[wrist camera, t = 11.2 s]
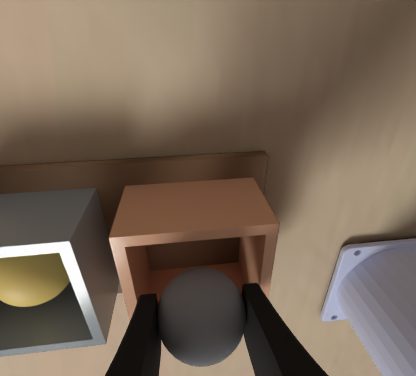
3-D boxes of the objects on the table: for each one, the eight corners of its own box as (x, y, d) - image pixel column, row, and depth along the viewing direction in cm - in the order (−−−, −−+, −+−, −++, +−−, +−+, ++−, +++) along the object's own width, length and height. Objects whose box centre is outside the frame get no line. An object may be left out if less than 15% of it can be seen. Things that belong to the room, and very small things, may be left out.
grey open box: (96, 187, 13) (69, 241, 10) (119, 279, 16) (106, 344, 13) (-48, 197, 13) (-131, 258, 9) (7, 290, 16) (-39, 361, 12)
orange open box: (253, 177, 14) (279, 223, 10) (245, 267, 17) (263, 324, 14) (125, 185, 13) (108, 238, 10) (142, 277, 17) (135, 340, 13)
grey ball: (237, 245, 12) (261, 322, 8) (234, 299, 13) (253, 378, 10) (154, 253, 11) (147, 336, 8) (162, 307, 13) (159, 392, 10)
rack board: (264, 151, 14) (268, 155, 13) (252, 272, 18) (254, 278, 18) (-67, 169, 12) (-78, 175, 12) (7, 296, 17) (2, 305, 16)
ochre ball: (73, 211, 14) (51, 261, 11) (88, 262, 16) (73, 317, 12) (-3, 218, 13) (-50, 273, 10) (22, 270, 15) (-12, 329, 12)
